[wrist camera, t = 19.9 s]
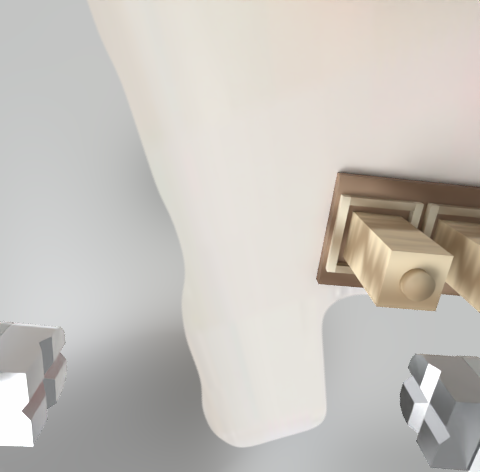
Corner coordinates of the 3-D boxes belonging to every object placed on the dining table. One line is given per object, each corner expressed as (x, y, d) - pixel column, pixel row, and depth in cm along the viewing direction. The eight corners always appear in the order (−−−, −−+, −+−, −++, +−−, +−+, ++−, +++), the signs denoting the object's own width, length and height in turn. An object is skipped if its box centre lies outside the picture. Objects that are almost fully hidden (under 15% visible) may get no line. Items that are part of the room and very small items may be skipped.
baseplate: (337, 172, 39) (382, 208, 28) (507, 189, 41) (616, 231, 29) (316, 278, 44) (347, 347, 32) (470, 291, 45) (553, 362, 33)
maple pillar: (352, 211, 40) (397, 255, 29) (400, 215, 40) (460, 261, 30) (342, 256, 41) (381, 313, 31) (388, 260, 42) (441, 317, 31)
